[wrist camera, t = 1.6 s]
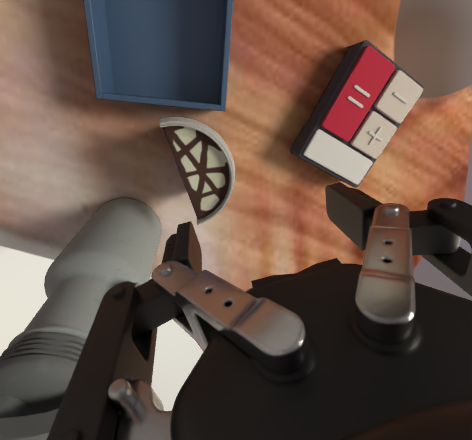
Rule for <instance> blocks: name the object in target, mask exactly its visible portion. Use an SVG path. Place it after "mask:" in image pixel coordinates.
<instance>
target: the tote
mask: <svg viewBox="0 0 472 440" xmlns="http://www.w3.org/2000/svg"><path fill="white" fill-rule="evenodd" d="M83 1H84V8H85V16H86V23H87V31H88V38H89V46H90V54H91V61H92V69H93V76H94V84H95V91H96V98H97V99H105V100H115V101H126V102H136V103H146V104H156V105H166V106H176V107H187V108H197V109H207V110H217V111H225V110H226V96H227V82H228V68H229V54H230V40H231V26H232V12H233V0H83Z"/></svg>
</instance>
